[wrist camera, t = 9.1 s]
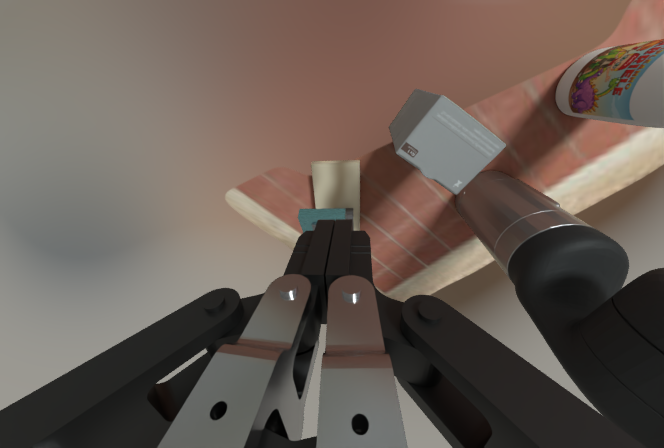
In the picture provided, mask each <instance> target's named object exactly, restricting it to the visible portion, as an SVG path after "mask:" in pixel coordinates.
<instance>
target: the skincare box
mask: <svg viewBox="0 0 664 448" xmlns="http://www.w3.org/2000/svg"><path fill="white" fill-rule="evenodd" d="M389 129H390V133H391V136H392V139H393V143H394V147H395V151H396V154H397V155H399V156H400V157H402V158H403V159H405V160H406V161H407V162H409V163H410V164H412V165H413V166H415V167H416V168H418V169H419V170H421V173H422V174H423V175H424V176H425V177H427V178H429V179H433V180H434V181H436V182H437V183H439V184H440V185H441V186H443V187H444V188H446V189H447V190H449V191H450V192H452V193H453V194H458V193H459V192H460V191H461V190H462V189H463V188H464V187H465V186H466V185H467V184H468V183H469V182H470V181H471V180H472V179H473V178H474V177H475V176H476V175H477V174H478V173H479V172H480V171H481V170H482V169H483V168H484V167H485V166H486V165H487V164H488V163H489V162H491V161H492V160H493V159H494V158H495V157H496V156H497V155H498V154H499V153H500V152H501V151H502V150H503V149H504V148H505V147H506V144H505V143H504V142H502V141H501V140H500V139H499V138H498V137H497V136H495V135H494V134H493V133H492V132H490V131H489V130H488V129H487V128H485V127H484V126H483V125H482V124H481V123H479V122H478V121H477V120H476V119H474V118H473V117H472V116H470V115H469V114H468V113H466V112H465V111H464V110H463V109H461V108H460V107H458V106H457V105H456V104H455V103H453V102H452V101H451V100H449V99H448V98H446V97H445V96H443V95H438V94H433V93H430V92H426V91H423V90H419V89H415V90H414V92H413V93H412V94H411V96H410V97H409V99H408V100H407V101H406V103H405V104H404V106H403V107H402V109H401V110H400V112H399V113H398V115H397V116H396V117H395V119H394V120H393V122H392V123H391V125H390V126H389Z"/></svg>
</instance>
